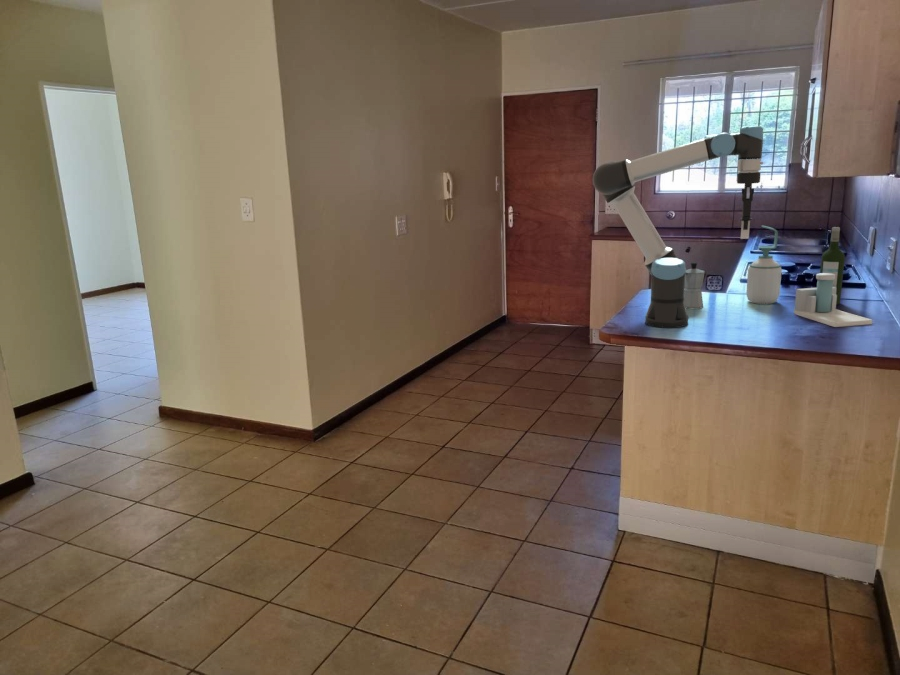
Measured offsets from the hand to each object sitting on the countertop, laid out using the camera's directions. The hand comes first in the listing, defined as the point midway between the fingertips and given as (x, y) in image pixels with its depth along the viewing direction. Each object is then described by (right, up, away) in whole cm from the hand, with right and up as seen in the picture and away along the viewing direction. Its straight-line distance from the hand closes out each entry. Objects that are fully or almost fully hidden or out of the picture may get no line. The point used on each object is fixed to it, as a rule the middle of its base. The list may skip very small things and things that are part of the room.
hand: (744, 238), depth 236 cm
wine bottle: (+44, -23, +22) cm, 54 cm away
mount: (+31, -30, -3) cm, 43 cm away
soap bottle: (+21, -22, +30) cm, 42 cm away
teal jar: (+30, -26, +3) cm, 40 cm away
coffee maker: (-8, -23, +29) cm, 38 cm away
